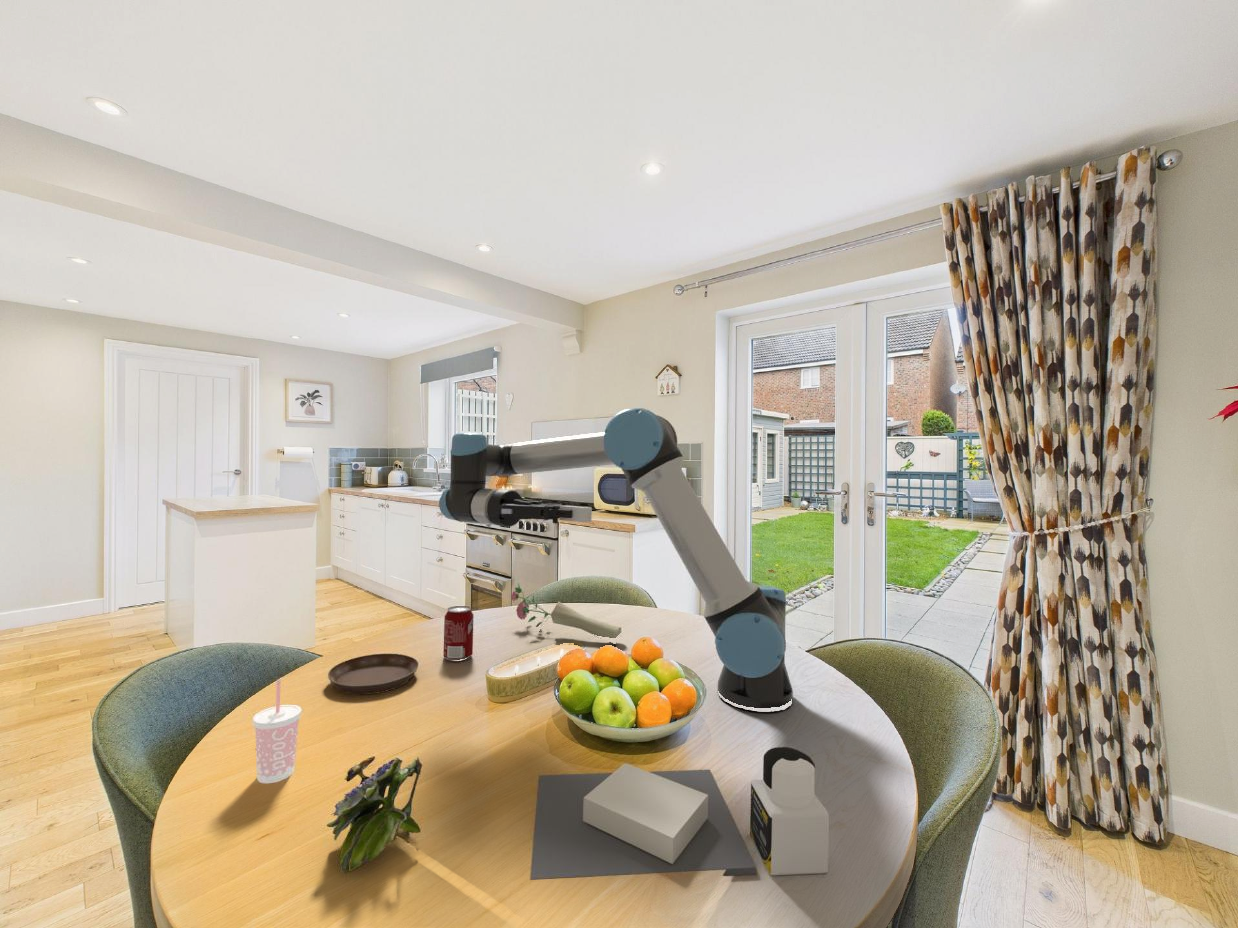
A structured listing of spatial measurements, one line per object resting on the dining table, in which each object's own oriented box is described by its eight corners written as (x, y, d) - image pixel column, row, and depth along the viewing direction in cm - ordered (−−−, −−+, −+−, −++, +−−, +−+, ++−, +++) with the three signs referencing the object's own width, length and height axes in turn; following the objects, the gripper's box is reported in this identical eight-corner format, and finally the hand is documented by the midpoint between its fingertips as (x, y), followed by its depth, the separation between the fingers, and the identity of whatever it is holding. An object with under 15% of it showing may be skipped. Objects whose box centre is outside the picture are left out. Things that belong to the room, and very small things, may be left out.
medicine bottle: (749, 834, 68) (751, 740, 68) (802, 832, 69) (804, 739, 69) (769, 876, 61) (771, 772, 61) (828, 874, 62) (831, 771, 62)
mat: (709, 774, 81) (709, 769, 81) (756, 873, 61) (756, 866, 61) (538, 780, 79) (539, 775, 79) (529, 886, 59) (530, 878, 59)
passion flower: (356, 871, 67) (377, 764, 75) (436, 866, 66) (449, 757, 73) (295, 875, 58) (325, 753, 66) (385, 869, 57) (406, 744, 64)
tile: (583, 797, 69) (673, 837, 61) (625, 762, 77) (708, 794, 70) (582, 822, 68) (672, 865, 61) (624, 784, 77) (707, 819, 70)
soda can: (464, 664, 124) (465, 612, 124) (437, 661, 126) (439, 610, 126) (477, 654, 131) (478, 605, 131) (452, 651, 132) (453, 603, 132)
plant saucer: (427, 687, 112) (427, 672, 112) (332, 706, 102) (333, 690, 102) (407, 661, 126) (408, 648, 126) (323, 675, 116) (323, 662, 116)
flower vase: (604, 676, 138) (493, 629, 150) (623, 648, 149) (518, 607, 161) (609, 639, 134) (495, 594, 146) (628, 614, 145) (520, 574, 157)
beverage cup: (247, 790, 75) (250, 691, 75) (254, 768, 80) (257, 675, 80) (298, 779, 78) (301, 683, 78) (301, 759, 83) (303, 669, 83)
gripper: (520, 523, 117) (608, 532, 104) (474, 527, 106) (566, 538, 93) (521, 488, 117) (609, 493, 104) (475, 490, 106) (567, 495, 93)
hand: (589, 514), depth 98 cm, fingers closed
